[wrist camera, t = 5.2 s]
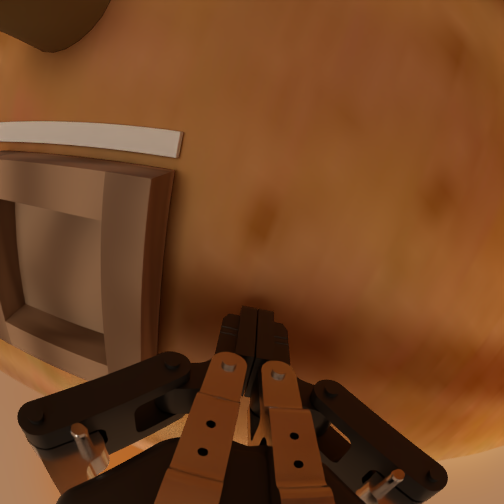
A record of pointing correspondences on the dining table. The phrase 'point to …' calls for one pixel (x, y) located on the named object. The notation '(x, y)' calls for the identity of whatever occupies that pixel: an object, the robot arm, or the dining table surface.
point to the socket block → (81, 259)
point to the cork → (50, 21)
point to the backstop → (95, 136)
